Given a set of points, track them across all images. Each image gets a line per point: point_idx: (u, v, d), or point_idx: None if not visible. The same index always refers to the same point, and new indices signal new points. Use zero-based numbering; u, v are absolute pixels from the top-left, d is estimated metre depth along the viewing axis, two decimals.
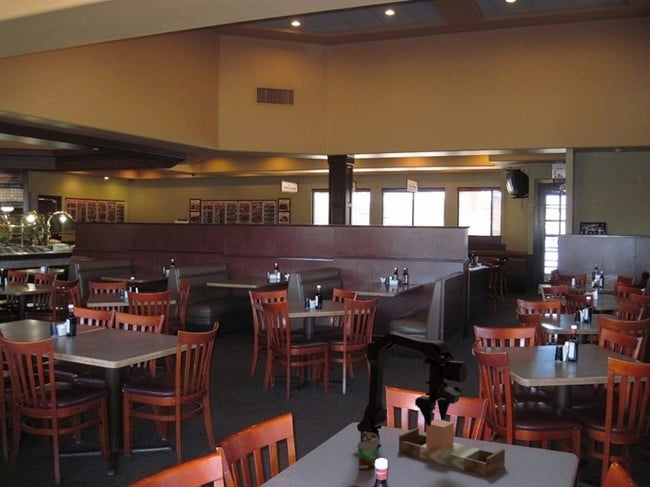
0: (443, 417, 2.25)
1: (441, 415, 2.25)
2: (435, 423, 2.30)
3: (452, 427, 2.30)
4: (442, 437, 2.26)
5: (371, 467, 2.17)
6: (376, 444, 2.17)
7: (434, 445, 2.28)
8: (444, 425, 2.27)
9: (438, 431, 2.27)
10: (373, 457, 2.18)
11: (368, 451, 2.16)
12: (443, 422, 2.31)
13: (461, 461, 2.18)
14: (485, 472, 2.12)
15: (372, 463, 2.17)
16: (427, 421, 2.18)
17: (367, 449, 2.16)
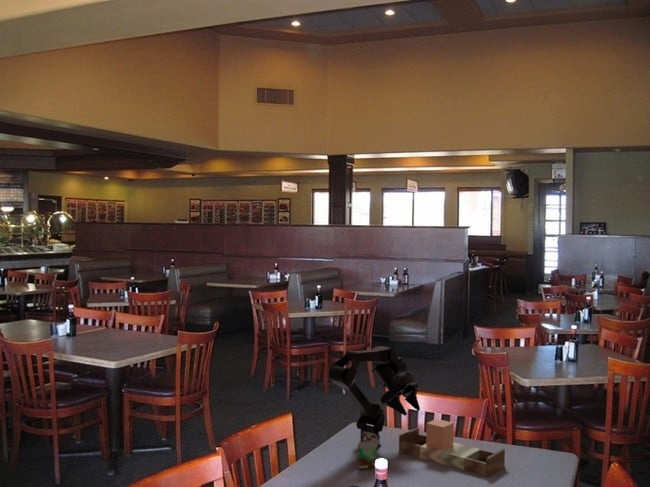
0: (418, 407, 2.41)
1: (415, 407, 2.42)
2: (435, 423, 2.30)
3: (452, 427, 2.30)
4: (442, 437, 2.26)
5: (371, 467, 2.17)
6: (376, 444, 2.17)
7: (434, 445, 2.28)
8: (444, 425, 2.27)
9: (438, 431, 2.27)
10: (373, 457, 2.18)
11: (368, 451, 2.16)
12: (443, 422, 2.31)
13: (461, 461, 2.18)
14: (485, 472, 2.12)
15: (372, 463, 2.17)
16: (402, 412, 2.35)
17: (367, 449, 2.16)
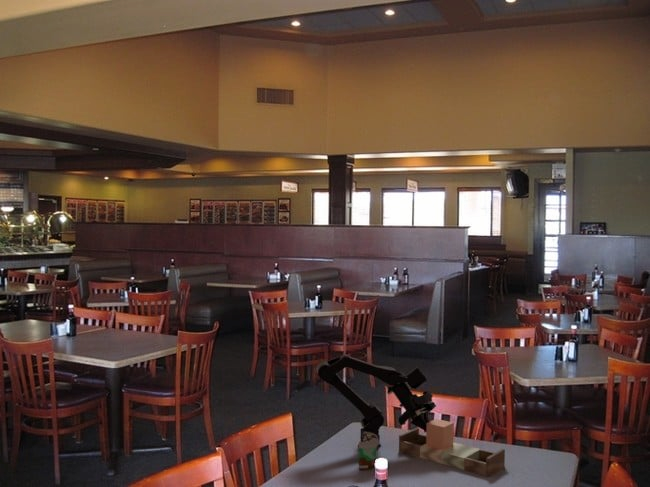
0: None
1: None
2: (435, 423, 2.30)
3: (452, 427, 2.30)
4: (442, 437, 2.26)
5: (371, 467, 2.17)
6: (376, 444, 2.17)
7: (434, 445, 2.28)
8: (444, 425, 2.27)
9: (438, 431, 2.27)
10: (373, 457, 2.18)
11: (368, 451, 2.16)
12: (443, 422, 2.31)
13: (461, 461, 2.18)
14: (485, 472, 2.12)
15: (372, 463, 2.17)
16: None
17: (367, 449, 2.16)
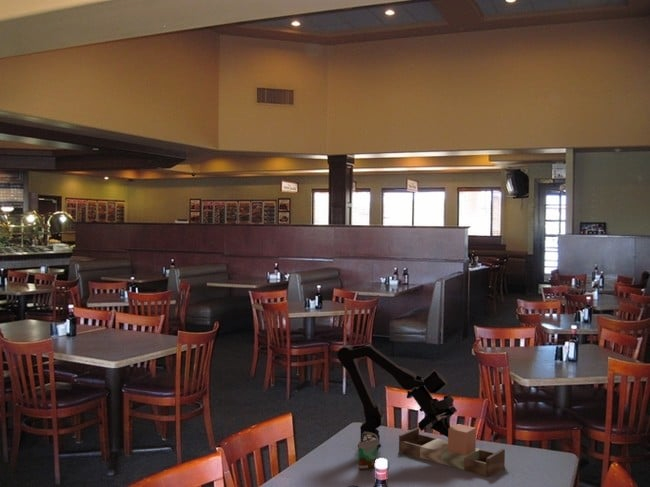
0: None
1: None
2: (457, 428, 2.24)
3: (474, 432, 2.25)
4: (465, 443, 2.20)
5: (371, 467, 2.17)
6: (376, 444, 2.17)
7: (456, 451, 2.22)
8: (466, 430, 2.22)
9: (460, 436, 2.21)
10: (373, 457, 2.18)
11: (368, 451, 2.16)
12: (465, 427, 2.26)
13: (461, 461, 2.18)
14: (485, 472, 2.12)
15: (372, 463, 2.17)
16: (447, 435, 2.27)
17: (367, 449, 2.16)
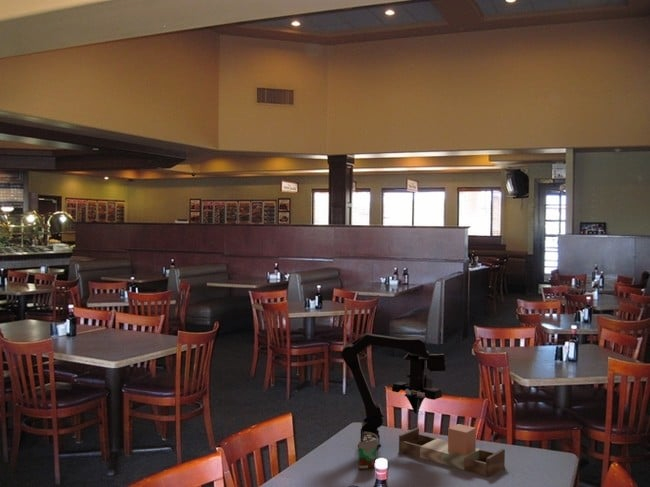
0: None
1: None
2: (457, 428, 2.24)
3: (474, 432, 2.25)
4: (465, 443, 2.20)
5: (371, 467, 2.17)
6: (376, 444, 2.17)
7: (456, 451, 2.22)
8: (466, 430, 2.22)
9: (460, 436, 2.21)
10: (373, 457, 2.18)
11: (368, 451, 2.16)
12: (465, 427, 2.26)
13: (461, 461, 2.18)
14: (485, 472, 2.12)
15: (372, 463, 2.17)
16: (417, 409, 2.38)
17: (367, 449, 2.16)
